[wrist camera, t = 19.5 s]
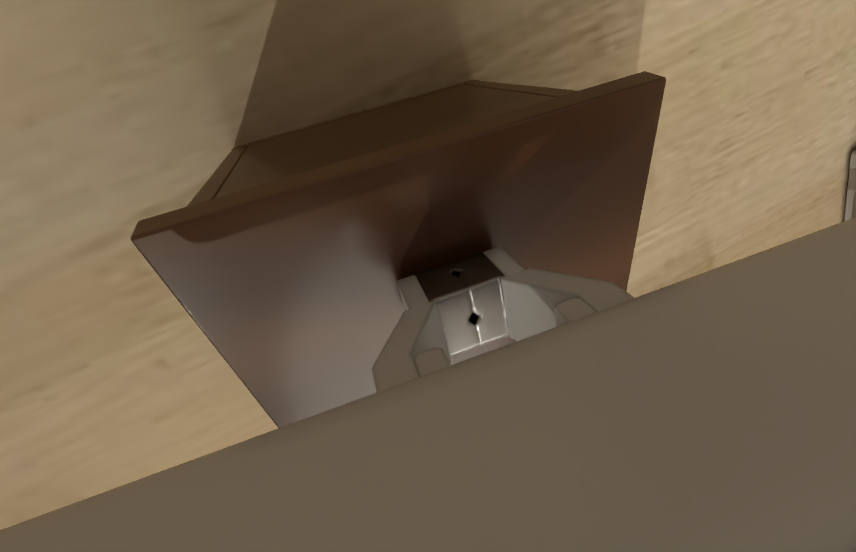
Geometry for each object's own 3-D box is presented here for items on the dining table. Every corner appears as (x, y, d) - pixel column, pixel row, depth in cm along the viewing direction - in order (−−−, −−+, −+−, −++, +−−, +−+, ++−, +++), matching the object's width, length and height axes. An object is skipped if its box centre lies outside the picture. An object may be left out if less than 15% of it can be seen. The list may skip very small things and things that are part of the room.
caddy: (232, 147, 20) (182, 208, 12) (473, 79, 22) (582, 90, 13) (333, 366, 27) (347, 501, 19) (508, 304, 29) (592, 403, 20)
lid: (136, 220, 9) (127, 238, 8) (645, 70, 11) (667, 76, 10) (347, 501, 19) (350, 519, 18) (593, 403, 20) (603, 416, 20)
